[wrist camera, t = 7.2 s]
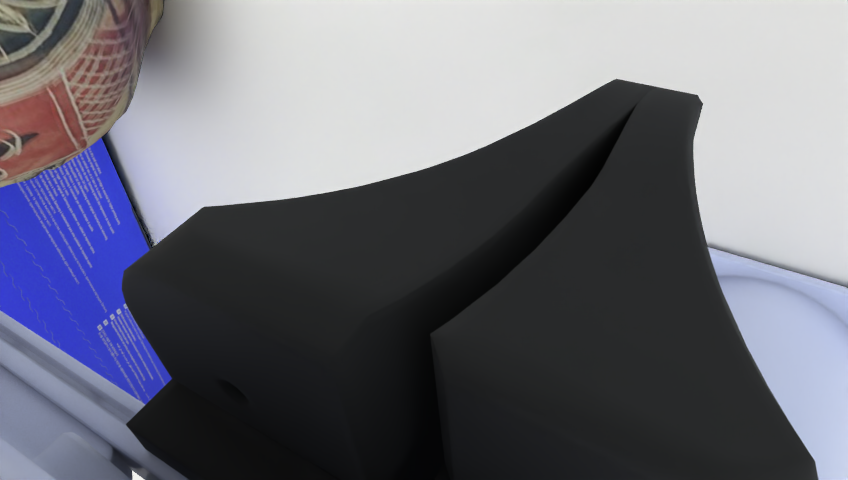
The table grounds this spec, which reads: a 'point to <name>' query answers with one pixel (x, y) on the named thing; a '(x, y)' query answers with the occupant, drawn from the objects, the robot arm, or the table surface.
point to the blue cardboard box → (78, 268)
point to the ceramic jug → (65, 76)
